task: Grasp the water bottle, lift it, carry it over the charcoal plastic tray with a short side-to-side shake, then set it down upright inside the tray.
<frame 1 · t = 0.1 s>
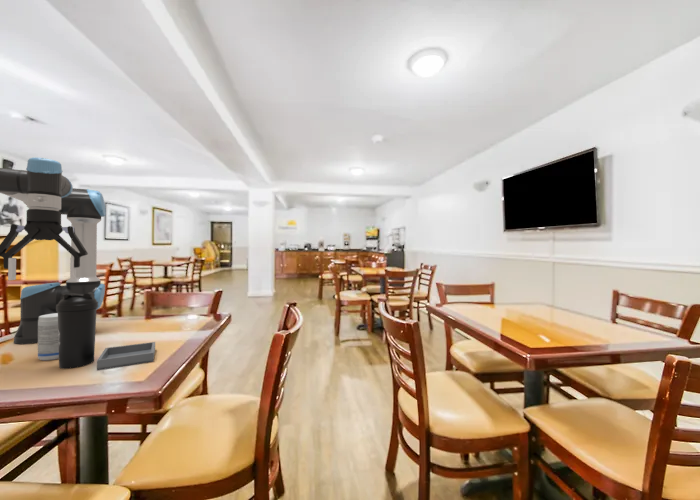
hand: (43, 279, 93), 28 cm above the table, fingers open, 13 cm apart
tray: (128, 359, 104), on the table
water bottle: (77, 364, 99), on the table
supplement tub: (56, 357, 106), on the table
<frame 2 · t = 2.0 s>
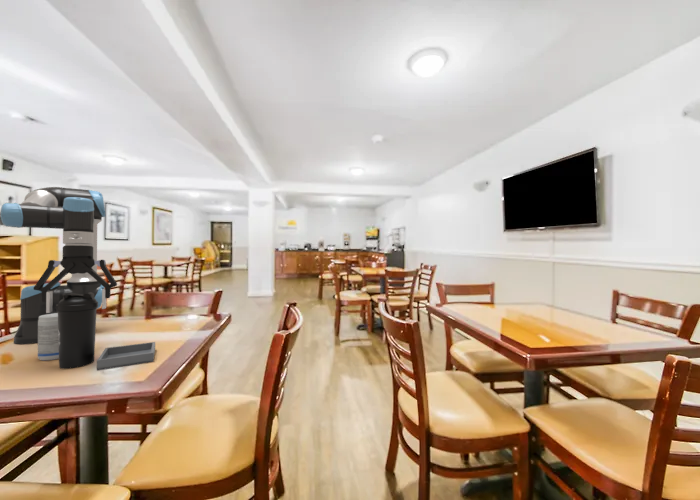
hand: (77, 310, 99), 17 cm above the table, fingers open, 13 cm apart
nothing on the table moved.
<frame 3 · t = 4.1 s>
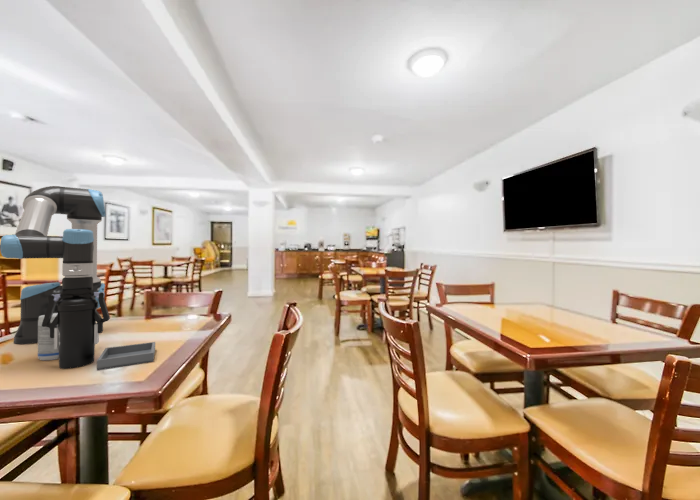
hand: (77, 345, 99), 6 cm above the table, fingers closed on water bottle, 9 cm apart
water bottle: (77, 364, 99), on the table, touching gripper
everything else where it was.
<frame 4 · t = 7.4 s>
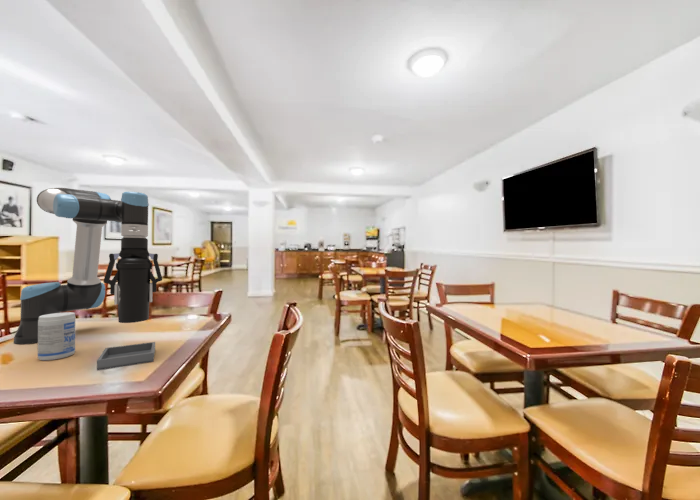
hand: (134, 302, 105), 19 cm above the table, fingers closed on water bottle, 9 cm apart
water bottle: (133, 320, 105), point 13 cm above the table, touching gripper
everything else where it was.
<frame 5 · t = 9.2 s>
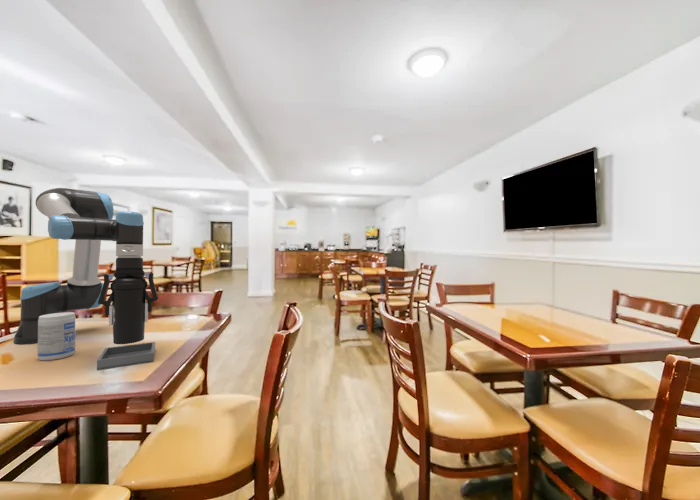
hand: (129, 323, 104), 12 cm above the table, fingers closed on water bottle, 9 cm apart
water bottle: (129, 341, 104), point 6 cm above the table, touching gripper
everything else where it was.
when the fingers open (7 cm above the table, at t = 11.0 s): water bottle stays where it is, resting on tray.
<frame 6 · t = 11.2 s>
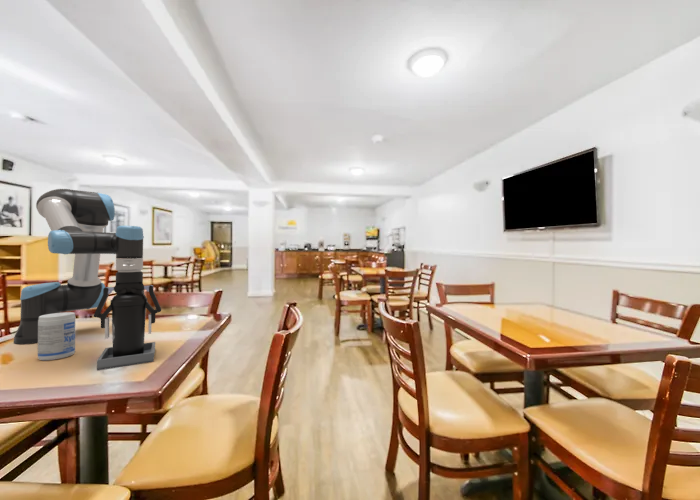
hand: (129, 335, 104), 8 cm above the table, fingers open, 11 cm apart
water bottle: (128, 357, 104), resting on tray
everything else where it was.
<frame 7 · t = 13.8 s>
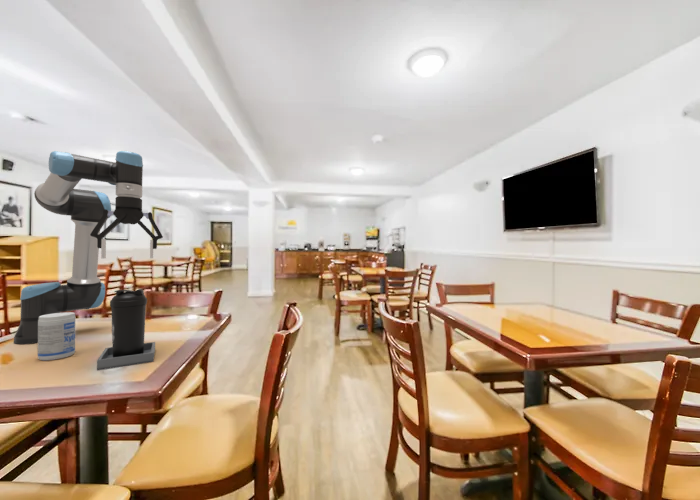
hand: (128, 258, 106), 34 cm above the table, fingers open, 13 cm apart
nothing on the table moved.
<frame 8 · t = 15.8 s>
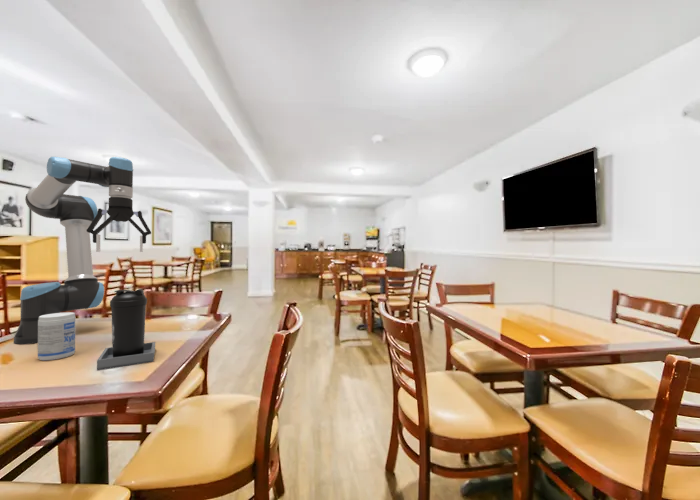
hand: (120, 251, 120), 37 cm above the table, fingers open, 13 cm apart
nothing on the table moved.
at the end: water bottle inside the target area on the tray (0.1 cm from its centre), point 0.4 cm above the tray's base; water bottle tilted 0°; the gripper is holding nothing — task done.
